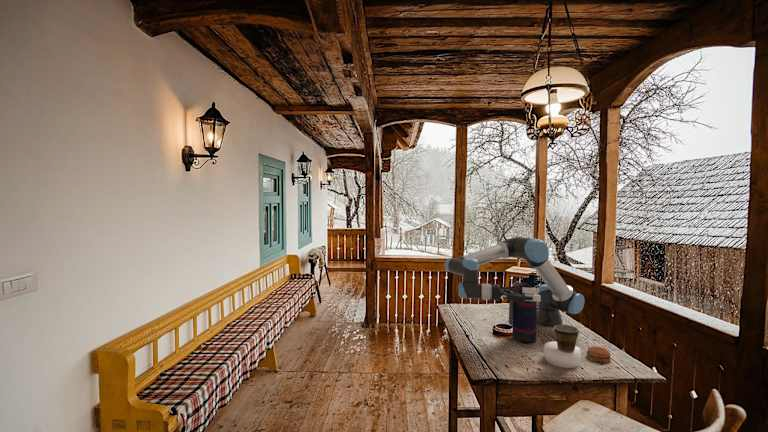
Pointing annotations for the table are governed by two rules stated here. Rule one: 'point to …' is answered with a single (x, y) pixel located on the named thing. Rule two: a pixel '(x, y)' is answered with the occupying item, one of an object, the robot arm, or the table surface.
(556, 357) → the plinth
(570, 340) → the ceramic cup
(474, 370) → the table surface
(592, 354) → the burger
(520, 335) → the grenade
